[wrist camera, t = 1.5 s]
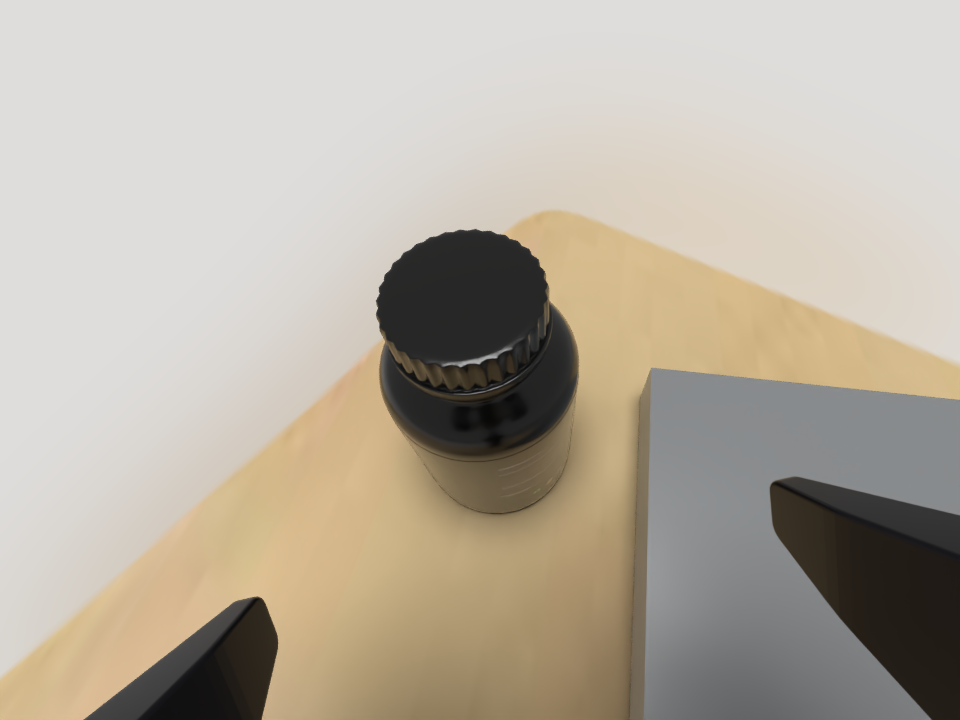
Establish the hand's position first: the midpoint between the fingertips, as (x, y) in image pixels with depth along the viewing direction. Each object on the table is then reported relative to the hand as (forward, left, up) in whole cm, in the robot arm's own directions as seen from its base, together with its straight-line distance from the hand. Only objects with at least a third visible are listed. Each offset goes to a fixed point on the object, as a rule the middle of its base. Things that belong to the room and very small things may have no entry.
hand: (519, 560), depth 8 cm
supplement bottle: (+7, +3, -13) cm, 15 cm away
